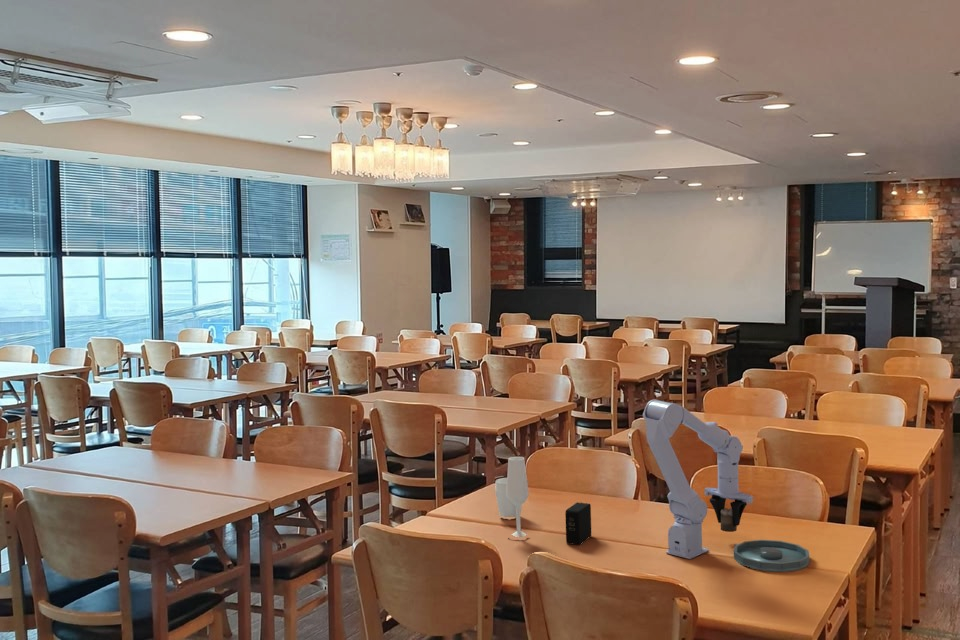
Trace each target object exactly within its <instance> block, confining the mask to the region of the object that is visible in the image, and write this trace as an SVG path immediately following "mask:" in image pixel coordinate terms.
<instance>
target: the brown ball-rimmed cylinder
mask: <svg viewBox="0 0 960 640" xmlns="http://www.w3.org/2000/svg"><path fill="white" fill-rule="evenodd" d="M737 527H738V526H733V514H732V508H731V507H730V508H727V507H725V508H724V509H722V510H721V523H720V530H721V531H722V532H727V533H729V532H730V533H733V532H736V531H737Z"/></svg>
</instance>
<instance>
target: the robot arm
mask: <svg viewBox="0 0 960 640" xmlns="http://www.w3.org/2000/svg"><path fill="white" fill-rule="evenodd" d="M642 417H643V420H644V422H645V433H646V435H645V437H646V441H647V444H648V446H649V448H650V450H651V453H652V454H653V456H654V459H655V461H656V463H657V466H658V467H659V470H660V473H661V474H662V476H663V479H664V481H665V482H666V485H667V487H668V489H669V492H668V494H667V497H666V498H667V499H668V508H669V510H670V513H672V514H673V519H674V523H673V524H672V525H671V526H670V527H669V529H668V531H667V539H668V540H667V542H668V546H667V547H668V550H666V551H665V553H666V554H668V555H673V556H677V557H681V558H684V559H689V560H691V559H693V558H696V557H697V556H700V555H703V554H705V553H707V552H709V548H705V547H703V529H702V527H703V526H702V525H703V524H702V523H704V520H705V518H706V517H707V515H708V506H707V504H706V502H705V501H704V500H703V499H701V497H700V495H699V493H698V492H696V491H695V490H694V489H693V487H691V486H690V484H689V482H688V480H687V478H686V477H687V476H686V475H685V472H684V470H683V468H682V467H681V463H680V462H679V459H678V456H677V455H676V452H675V450H674V448H673V446H672V443H671V441H670V438H672V437H673V435H674V433H676V430H677V429H678V428H679V426H680V424H681V425H683V426H685V427H687V428H689V429H690V430H692V431H694V432H696V433H697V437H698V438H699V440H700V441H702V442H704V444H707V445H708V446H710V447H711V448H712V450H713V452H714V453H716V454H717V456H716V458H717V488H715V487H706V488H705V487H704V496H711V498H709V503H710V504H711V506H712V508H713V510H714V512H715V516H716V519H717V523H718V524H721V510H722V509H725V508H726V507H725V506H726V501H727V500H730V501H731V500H733V501H731V502H730V503H729V504H730V509H731V508H732V514H733V526H737V527H738V526H740V522H741V517H742V515H743V513H744V510H745V508H746V506H747V505H750V504H752V503H754V502H753V501H754V495H751V494H747V493H744V492H742V491H740V488H739V487H740V486H739V462H740V459H741V454H742V451H743V449H744V446H743V445H742V442H741V440H740V439H739V438H738V436H733V435H730V434H729V431H728V430H725V429H722V428H720V427H719V426H718V425H719V424H718V423H717V422H715V421H707V422H704V421H703V420H701V419H700V418H698V417H697V416H696V415H695V414H694V413H691V412H690V411H689V410H688V409H687V408H686V407H684V406H681V405H679V404H678V403H675V402H674V403H673V402H667V401H663V400H659V399H655V398H654V399H651V400H649V401H648V402H647V403H646V404H645V407H644V410H643V413H642Z"/></svg>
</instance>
